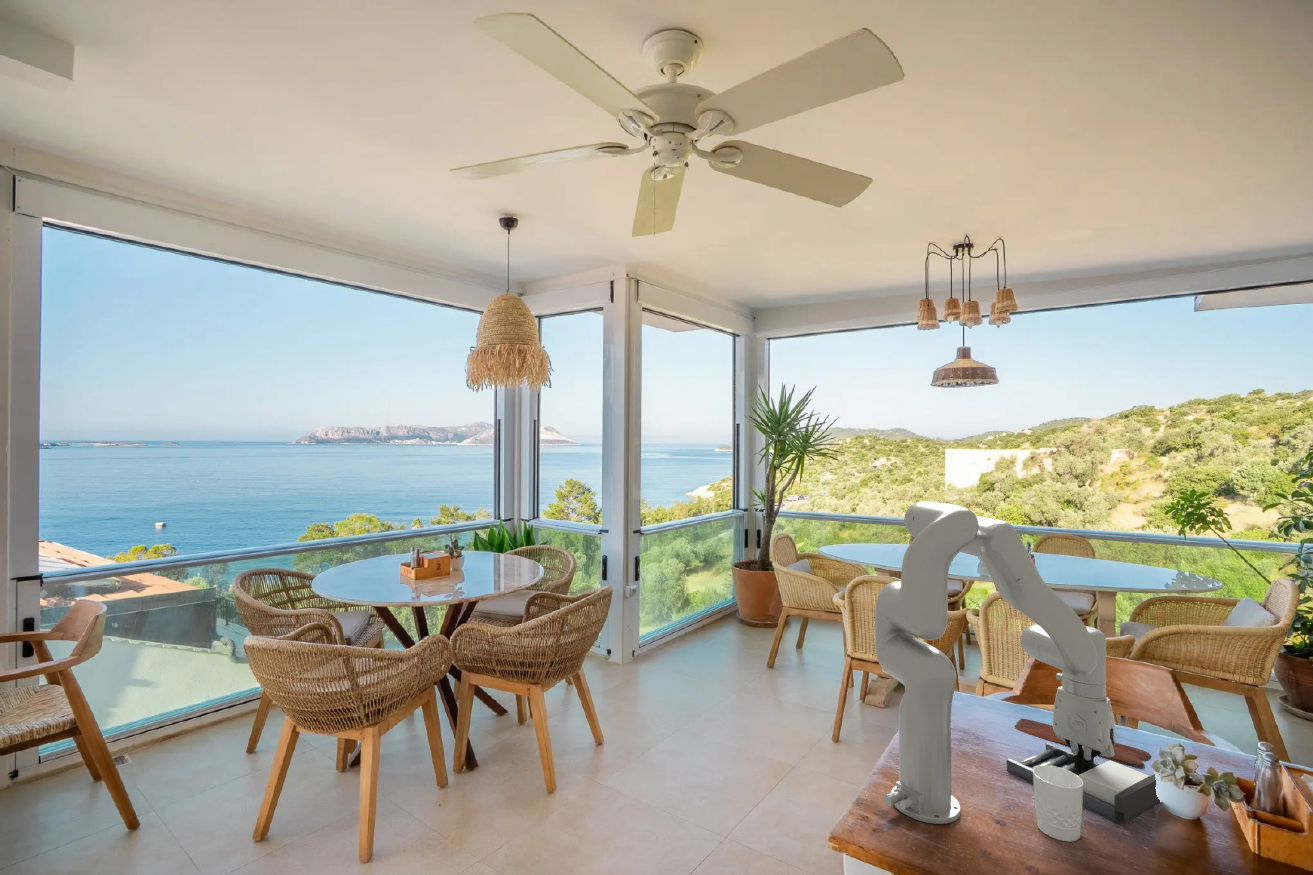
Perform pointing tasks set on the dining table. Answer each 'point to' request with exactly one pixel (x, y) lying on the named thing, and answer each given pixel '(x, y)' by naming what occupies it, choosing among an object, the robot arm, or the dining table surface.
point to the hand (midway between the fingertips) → (1084, 774)
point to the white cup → (1058, 802)
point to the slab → (1110, 780)
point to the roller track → (1126, 801)
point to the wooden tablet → (1121, 751)
